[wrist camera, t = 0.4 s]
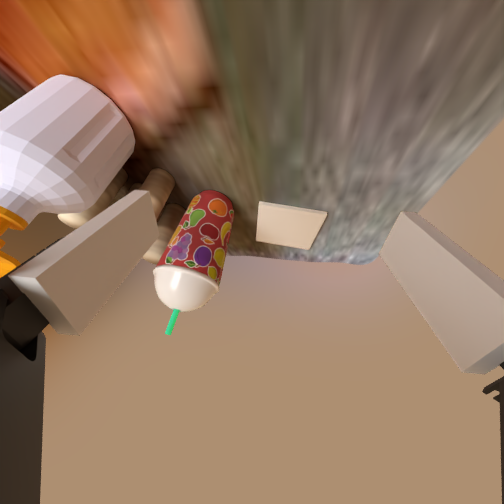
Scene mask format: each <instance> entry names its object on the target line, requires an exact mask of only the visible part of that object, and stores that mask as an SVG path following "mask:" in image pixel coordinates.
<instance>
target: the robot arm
mask: <svg viewBox="0 0 504 504" xmlns="http://www.w3.org/2000/svg"><path fill="white" fill-rule="evenodd" d="M159 236H160V234H159V230H158V226H157V222H156V218H155V213H154V209H153V205H152V201H151V197H150V193H149V191H143V190H134V191H132V192H131V193H129V194H128V195H126V196H125V197H123V198H122V199H120V200H119V201H117V202H116V203H115V204H113V205H112V206H110V207H109V208H107V209H106V210H104V211H103V212H101V213H100V214H98V215H97V216H95V217H94V218H92V219H91V220H89V221H88V222H86V223H85V224H83V225H82V226H80V227H79V228H77V229H76V230H75V231H73V232H72V233H70V234H69V235H67V236H65V237H63V238H61V239H58V240H57V241H55V242H54V243H52V244H51V245H49V246H48V247H47V248H46V249H43V250H42V251H40V252H39V253H37V255H36V256H33V257H31V258H30V259H28V260H27V261H25V262H24V263H22V264H21V265H19V266H18V267H16V268H15V269H13V270H12V271H10V272H9V273H7V274H6V275H4V276H3V277H1V278H0V504H40V484H41V457H42V455H41V454H42V430H43V429H42V428H43V402H44V374H45V346H46V345H45V344H46V338H45V335H44V333H42V330H43V329H44V328H45V327H46V326H47V325H48V324H50V325H51V326H52V327H53V328H54V329H55V331H56V332H57V333H58V334H68V335H78V336H80V334H81V333H82V332H83V331H84V329H85V328H86V327H87V326H88V324H89V323H90V322H91V321H92V319H93V318H94V317H95V316H96V314H97V313H98V312H99V310H100V309H101V308H102V307H103V306H104V304H105V303H106V302H107V301H108V299H109V298H110V297H111V296H112V294H113V293H114V292H115V291H116V289H117V288H118V287H119V286H120V284H121V283H122V282H123V281H124V280H125V278H126V277H127V276H128V275H129V273H130V272H131V271H132V269H133V268H134V267H135V266H136V265H137V263H138V262H139V261H140V259H141V258H142V257H143V256H144V255H145V253H146V252H147V251H148V250H149V248H150V247H151V246H152V245H153V243H154V242H155V241H156V240H157V238H158V237H159ZM379 255H380V257H381V258H382V259H383V261H384V262H385V264H386V265H387V267H388V268H389V269H390V271H391V272H392V274H393V275H394V277H395V278H396V279H397V281H398V282H399V284H400V285H401V286H402V288H403V289H404V291H405V292H406V294H407V295H408V296H409V298H410V299H411V301H412V302H413V303H414V305H415V306H416V308H417V309H418V311H419V312H420V313H421V315H422V316H423V317H424V319H425V320H426V322H427V323H428V325H429V326H430V328H431V329H432V331H433V332H434V333H435V335H436V336H437V338H438V339H439V341H440V342H441V343H442V345H443V346H444V347H445V349H446V350H447V352H448V353H449V355H450V356H451V358H452V359H453V360H454V362H455V363H456V365H457V366H458V368H459V369H460V370H461V372H466V373H477V374H486V373H488V372H490V371H491V370H493V369H494V368H496V367H497V366H499V365H500V366H501V367H502V368H503V369H504V280H502V279H501V278H500V277H498V275H496V274H495V273H494V272H492V271H491V270H490V269H488V268H487V267H486V266H485V265H483V264H482V263H481V262H479V261H478V260H477V259H475V258H474V257H473V256H472V255H470V254H469V253H468V252H466V251H465V250H464V249H463V248H461V247H460V246H458V245H457V244H456V243H455V242H454V241H452V240H451V239H450V238H448V237H447V236H446V235H445V234H443V233H442V232H441V231H439V230H438V229H437V228H435V227H434V226H433V225H432V224H430V223H429V222H428V221H426V220H425V219H424V218H422V217H421V216H420V215H419V214H417V213H416V212H404V211H401V212H400V214H399V216H398V218H397V220H396V222H395V224H394V226H393V227H392V229H391V231H390V233H389V235H388V237H387V239H386V241H385V243H384V245H383V247H382V248H381V250H380V252H379ZM494 390H497V391H499V392H500V394H499V395H497V396H495V397H494V398H493V399H495V400H496V401H498V402H500V430H501V474H502V504H504V376H503V377H502V378H500V379H498V380H496V381H495V382H493V383H491V384H489V385H488V386H486V387H485V388H484V389H483V393H485V394H488V393H490V392H492V391H494Z"/></svg>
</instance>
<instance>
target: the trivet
mask: <svg viewBox="0 0 504 504" xmlns="http://www.w3.org/2000/svg"><path fill="white" fill-rule="evenodd" d="M326 216H327V212H325V211H318V210H312V209H306V208H299V207H293V206H287V205H281V204H274V203H268V202H262V201H259V208H258V221H257V233H256V241H260V242H266V243H272V244H278V245H284V246H290V247H295V248H301V249H307V250H309V249H310V247H311V245H312V243H313V241H314V239H315V237H316V235H317V233H318V231H319V230H320V228H321V226H322V224H323V222H324V220H325V218H326Z"/></svg>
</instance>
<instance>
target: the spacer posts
mask: <svg viewBox="0 0 504 504" xmlns="http://www.w3.org/2000/svg"><path fill="white" fill-rule="evenodd" d="M127 179H128V175H127V173H126V171H125V170H124V169H123V168H121V169H120V170H119V172H118V173H117V174H116V176H115V177H114V178H113V180H112V181H111V182H110V184H109V185H108V186H107V188H106V189H105V190H104V192H103V193H102V194H101V196H100V197H99V198H98V200H97V201H96V203H95V204H94V205H93V206H91V207H90V208H89V209H87V210H85V211H83V212H81V213H68V214H59V215H58V218H59V219H60V220H61V221H62V222H64V223H65V224H67V225H68V226H70V227H72V228H74V229H77V228H79V227H80V226H82V225H83V224H85V223H86V222H88V221H89V220H91V219H92V218H94V217H95V216H97V215H98V214H100V213H101V212H103V211H104V210H106V209H107V208H108V206H109V205H110V203H111V202H112V200H113V199H114V198H115V196H116V195H117V193H118V192H119V190H120V189H121V188H122V186H123V185H124V183H125V182H126V180H127ZM174 186H175V180H174V178H173V177H172V175H171V174H169V173H168V172H167V171H165V170H163V169H160V168H154V169H152V170H151V171H150V173H149V175H148V176H147V178H146V179H145V181H144V183H143V184H141V183H134V184H133V185H132V187H131V188H130V190H129V191H128V193H127V194H126V195H128V194H129V193H131V192H132V191H134V190H143V191H149V193H150V197H151V201H152V205H153V209H154V213H155V218H156V220H157V218H158V216H159V215H160V213H161V211H162V209H163V207H164V205H165V203H166V201H167V199H168V197H169V195H170V193H171V192H172V190H173V188H174ZM185 212H186V210H185V209H184V208H183V207H182V206H180V205H178V204H175V203H168V204H167V205H166V207H165V209H164V211H163V213H162V215H161V217H160V219H159V221H158V223H157V226H158V230H159V234H160V236H159V237H158V238H157V240H156V241H155V242H154V243H153V245H152V246H151V247H150V248H149V250H148V251H147V252H146V253H145V255H144V256H143V257H142V258H143V259H144V260H146V261H148V262H150V263H153V264H156V265H157V264H158V262H159V260H160V258H161V256H162V254H163V253H164V251H165V249H166V247H167V245H168V243H169V242H170V240H171V238H172V236H173V234H174V232H175V230H176V229H177V227H178V225H179V223H180V221H181V219H182V218H183V216H184V214H185Z"/></svg>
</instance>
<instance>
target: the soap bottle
mask: <svg viewBox="0 0 504 504" xmlns="http://www.w3.org/2000/svg"><path fill="white" fill-rule="evenodd" d="M134 146H135V138H134V134H133V130H132V128H131V126H130V124H129V122H128V121H127V119H126V117H125V115H124V114H123V113H122V112H121V111H120V109H119V108H118V107H117V106H116V105H115V104H114V102H113V101H112V100H111V99H110V98H108V97H107V96H106V95H105V94H103V93H102V92H101V91H100V90H98V89H97V88H96V87H95V86H93V85H91V84H89V83H87V82H85V81H83V80H81V79H79V78H77V77H72V76H67V75H57V76H54V77H52V78H49V79H48V80H46V81H45V82H43V83H42V84H40V85H39V86H37V87H36V88H34V89H33V90H31V91H30V92H29V93H27V94H26V95H24V96H23V97H21V98H20V99H18V100H17V101H15V102H14V103H12V104H11V105H9V106H8V107H6V108H5V109H4V110H2V111H1V112H0V236H1V235H2V234H3V233H4V232H5V231H6V230H7V229H8V228H11V229H15V230H24V229H25V228H26V227H27V226H28V224H29V223H30V222H31V221H32V220H33V219H34V218H35V217H36V215H37V214H38V213H41V212H50V213H57V214H68V213H81V212H83V211H85V210H87V209H89V208H90V207H91V206H93V205H94V204H95V203H96V201H97V200H98V198H99V197H100V196H101V194H102V193H103V192H104V190H105V189H106V188H107V186H108V185H109V184H110V182H111V181H112V180H113V178H114V177H115V176H116V174H117V173H118V172H119V170H120V169H121V168H122V166H123V165H124V164H125V162H126V161H127V160H128V158H129V157H130V155H131V154H132V153H133V151H134ZM4 245H5V242H4V241H3V240H2V239H0V249H1V248H2V247H3V246H4ZM19 265H21V264H20V262H19V261H18V260H16V259H15V258H13V257H11V256H9V255H7V254H6V253H4V252H2V251H0V278H1V277H3V276H4V275H6V274H7V273H9V272H10V271H12V270H13V269H15V268H16V267H18V266H19Z"/></svg>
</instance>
